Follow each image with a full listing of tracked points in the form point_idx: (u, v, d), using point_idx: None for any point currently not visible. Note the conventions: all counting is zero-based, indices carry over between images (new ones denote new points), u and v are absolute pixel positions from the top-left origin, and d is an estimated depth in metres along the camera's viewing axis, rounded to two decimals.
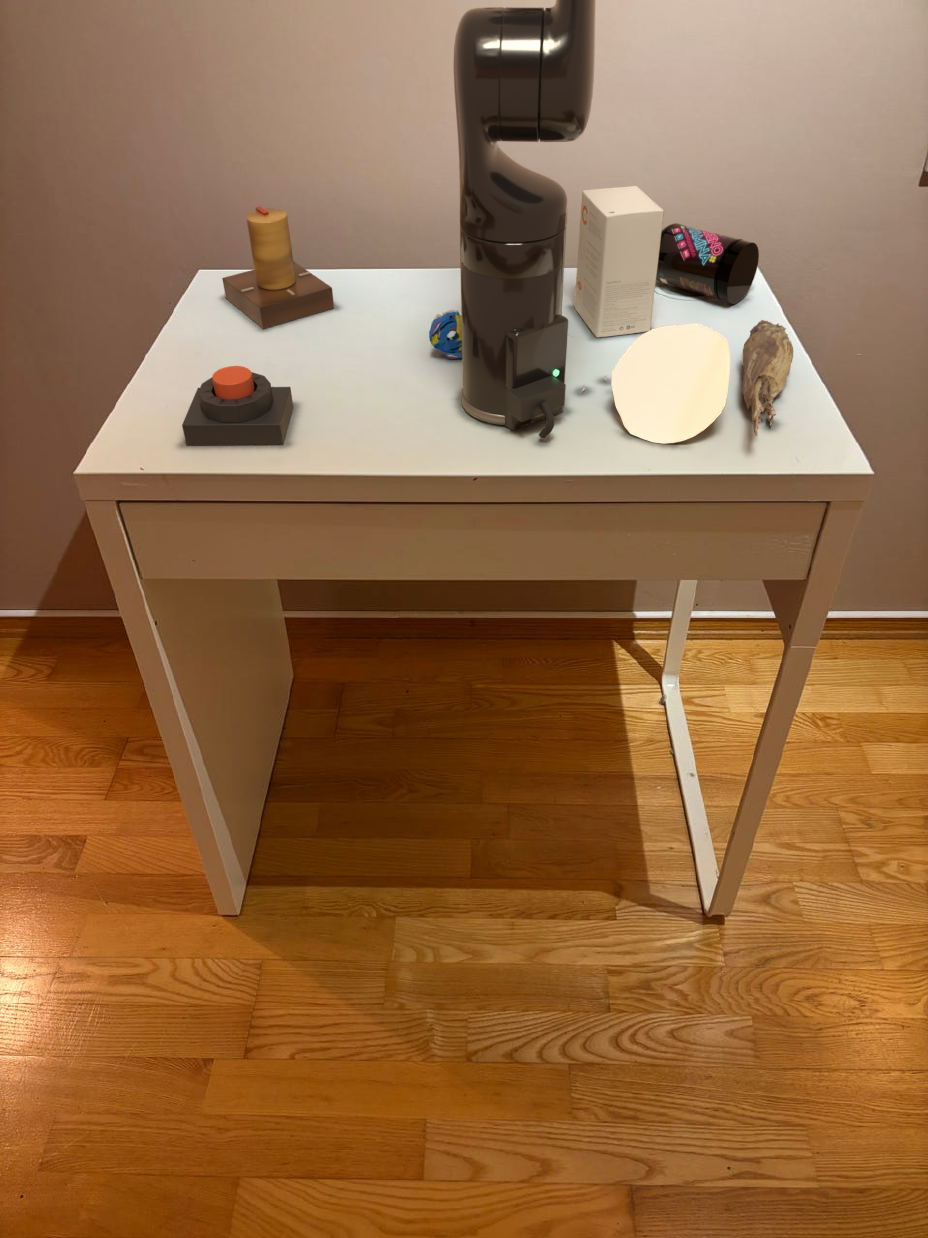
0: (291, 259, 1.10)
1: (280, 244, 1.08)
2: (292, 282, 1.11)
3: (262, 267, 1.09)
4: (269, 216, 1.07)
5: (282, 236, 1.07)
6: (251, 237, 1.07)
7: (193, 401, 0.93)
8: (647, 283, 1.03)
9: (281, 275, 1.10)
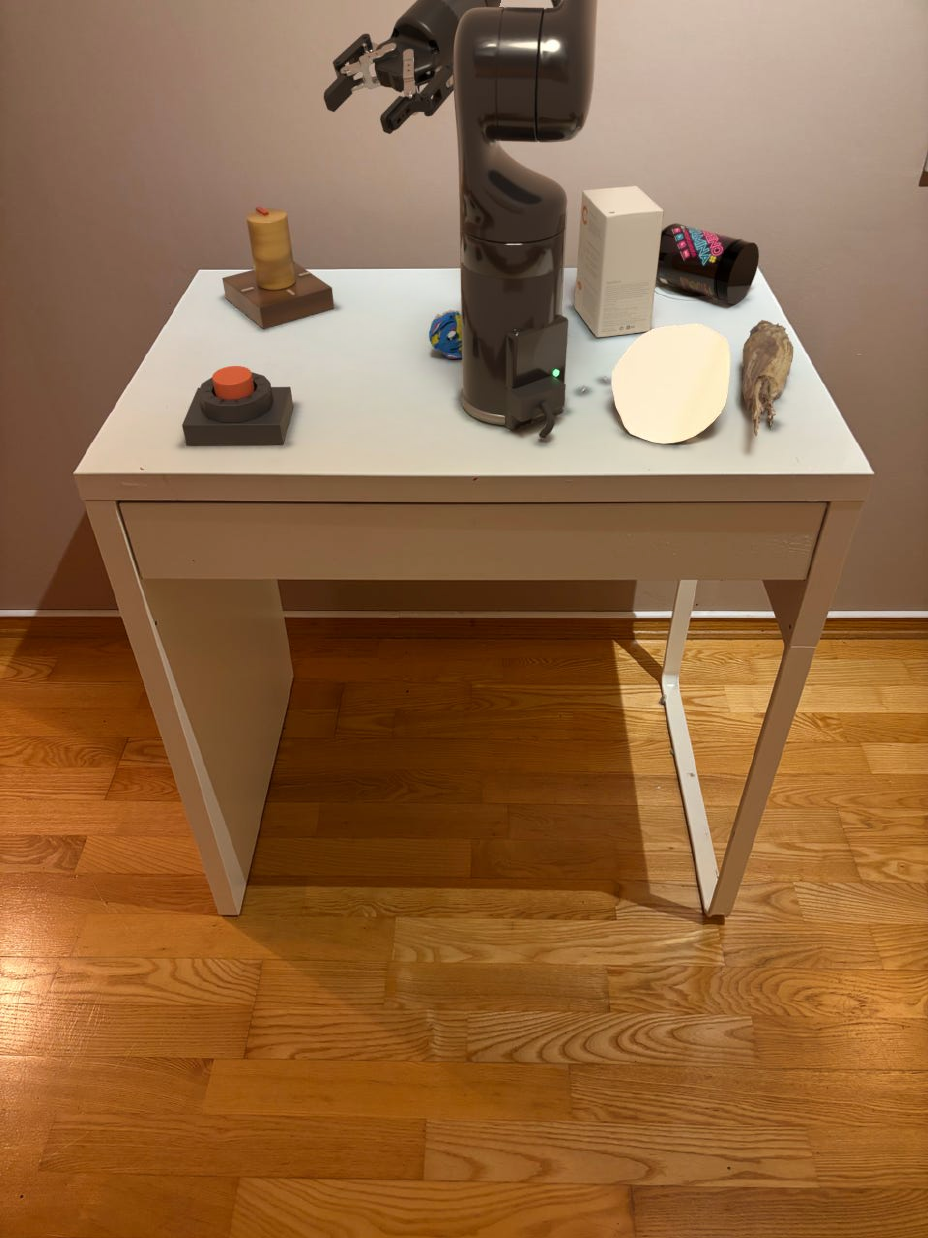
0: (291, 259, 1.10)
1: (280, 244, 1.08)
2: (292, 282, 1.11)
3: (262, 267, 1.09)
4: (269, 216, 1.07)
5: (282, 236, 1.07)
6: (251, 237, 1.07)
7: (193, 401, 0.93)
8: (647, 283, 1.03)
9: (281, 275, 1.10)
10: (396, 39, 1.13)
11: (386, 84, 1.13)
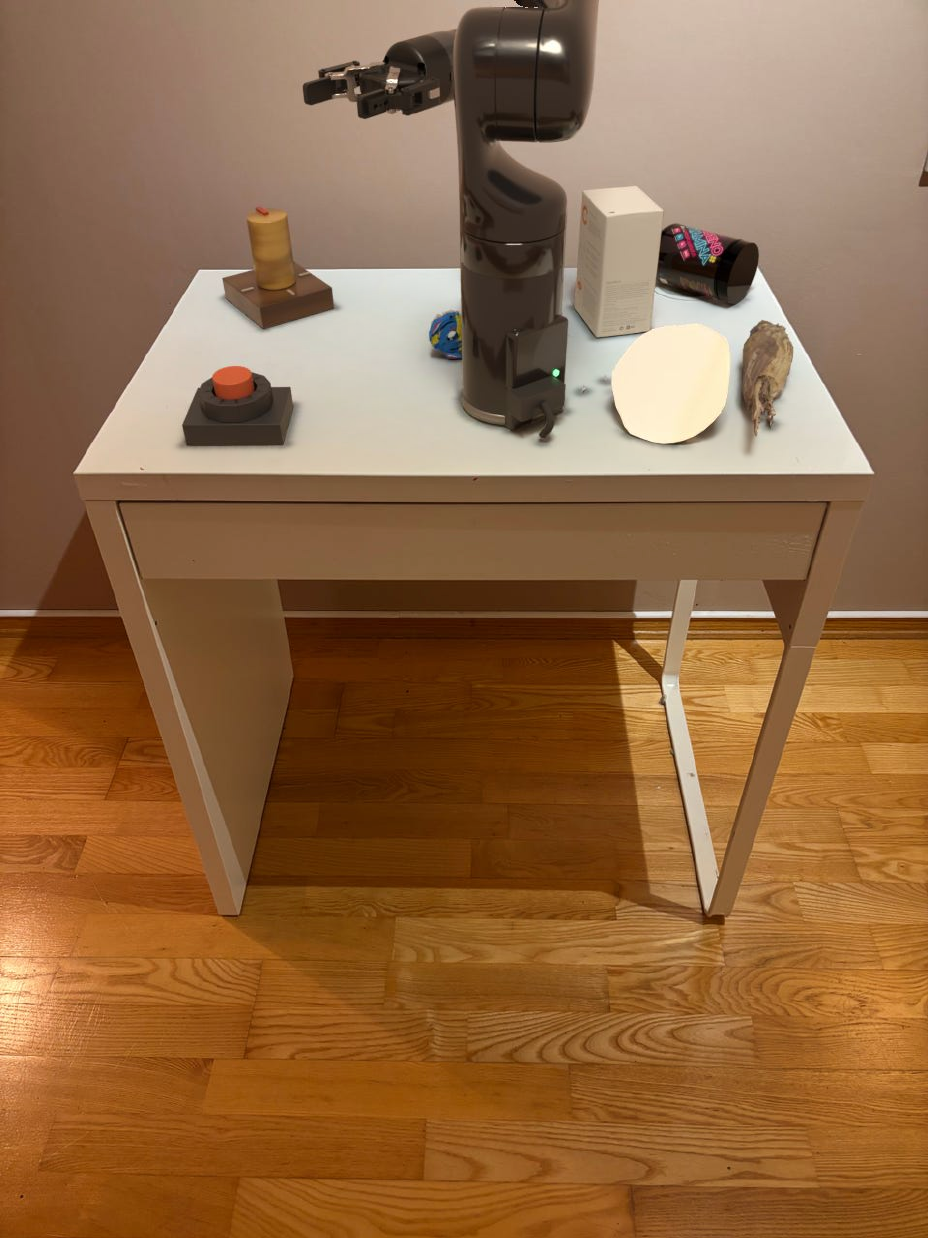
0: (291, 259, 1.10)
1: (280, 244, 1.08)
2: (292, 282, 1.11)
3: (262, 267, 1.09)
4: (269, 216, 1.07)
5: (282, 236, 1.07)
6: (251, 237, 1.07)
7: (193, 401, 0.93)
8: (647, 283, 1.03)
9: (281, 275, 1.10)
10: (385, 66, 1.14)
11: None
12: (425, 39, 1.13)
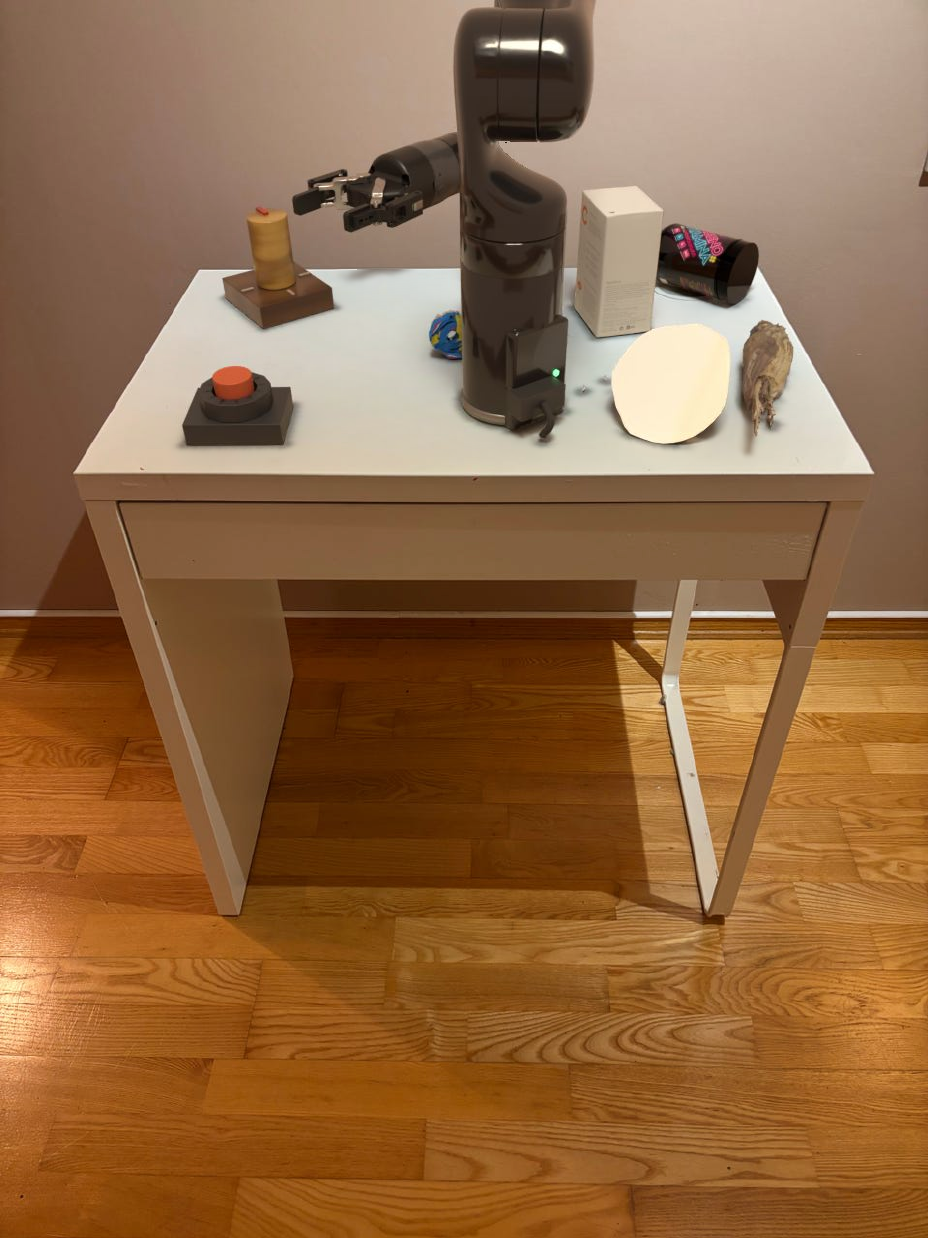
0: (291, 259, 1.10)
1: (280, 244, 1.08)
2: (292, 282, 1.11)
3: (262, 267, 1.09)
4: (269, 216, 1.07)
5: (282, 236, 1.07)
6: (251, 237, 1.07)
7: (193, 401, 0.93)
8: (647, 283, 1.03)
9: (281, 275, 1.10)
10: (371, 175, 1.19)
11: (355, 204, 1.17)
12: (409, 151, 1.18)
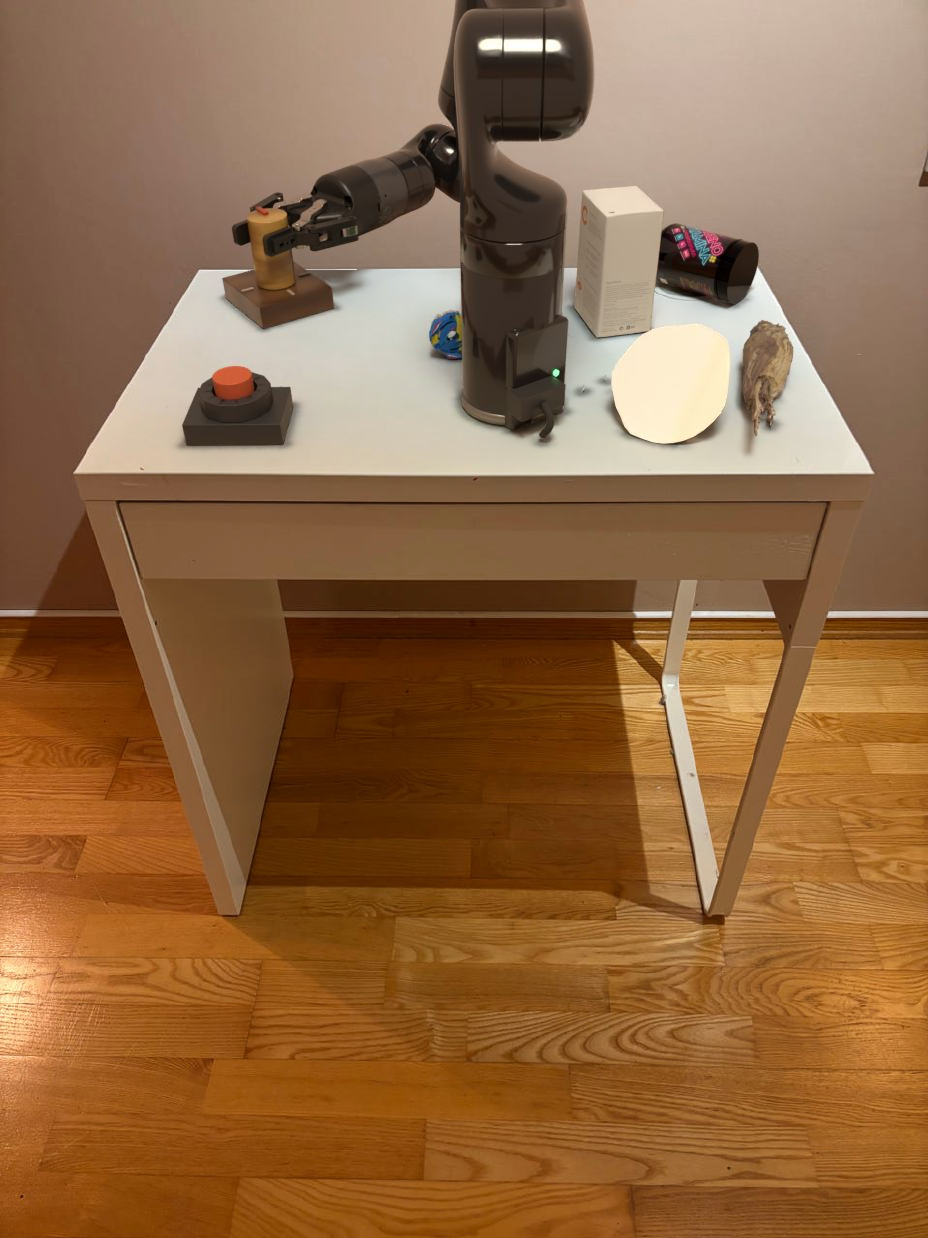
0: (291, 259, 1.10)
1: None
2: (292, 282, 1.11)
3: (262, 267, 1.09)
4: (269, 216, 1.07)
5: None
6: (251, 237, 1.08)
7: (193, 401, 0.93)
8: (647, 283, 1.03)
9: (281, 276, 1.10)
10: (313, 196, 1.14)
11: None
12: (353, 171, 1.13)
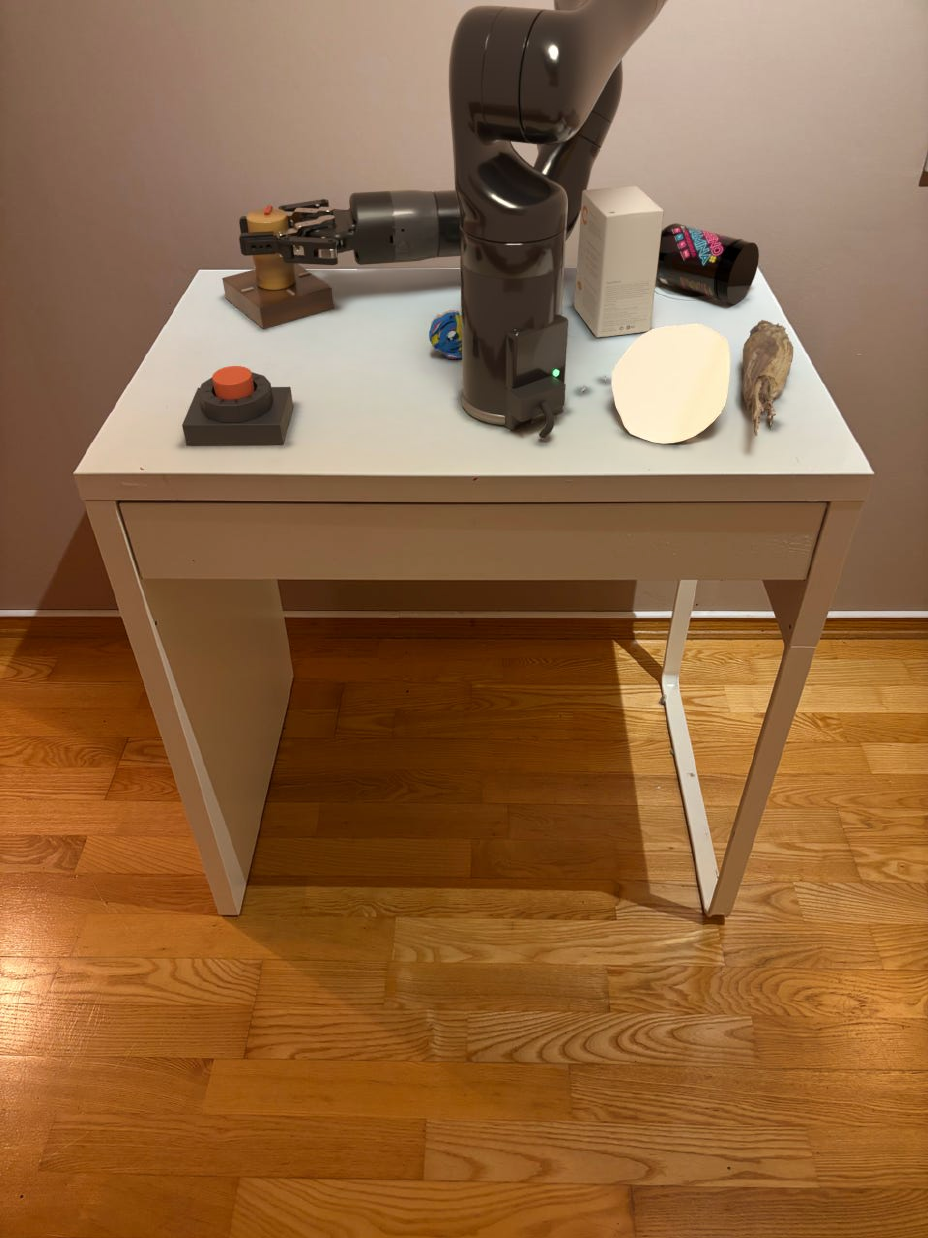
0: (283, 263, 1.09)
1: None
2: (283, 286, 1.11)
3: (254, 264, 1.10)
4: (266, 216, 1.07)
5: None
6: None
7: (193, 401, 0.93)
8: (647, 283, 1.03)
9: (268, 276, 1.10)
10: (345, 211, 1.11)
11: None
12: (379, 196, 1.07)
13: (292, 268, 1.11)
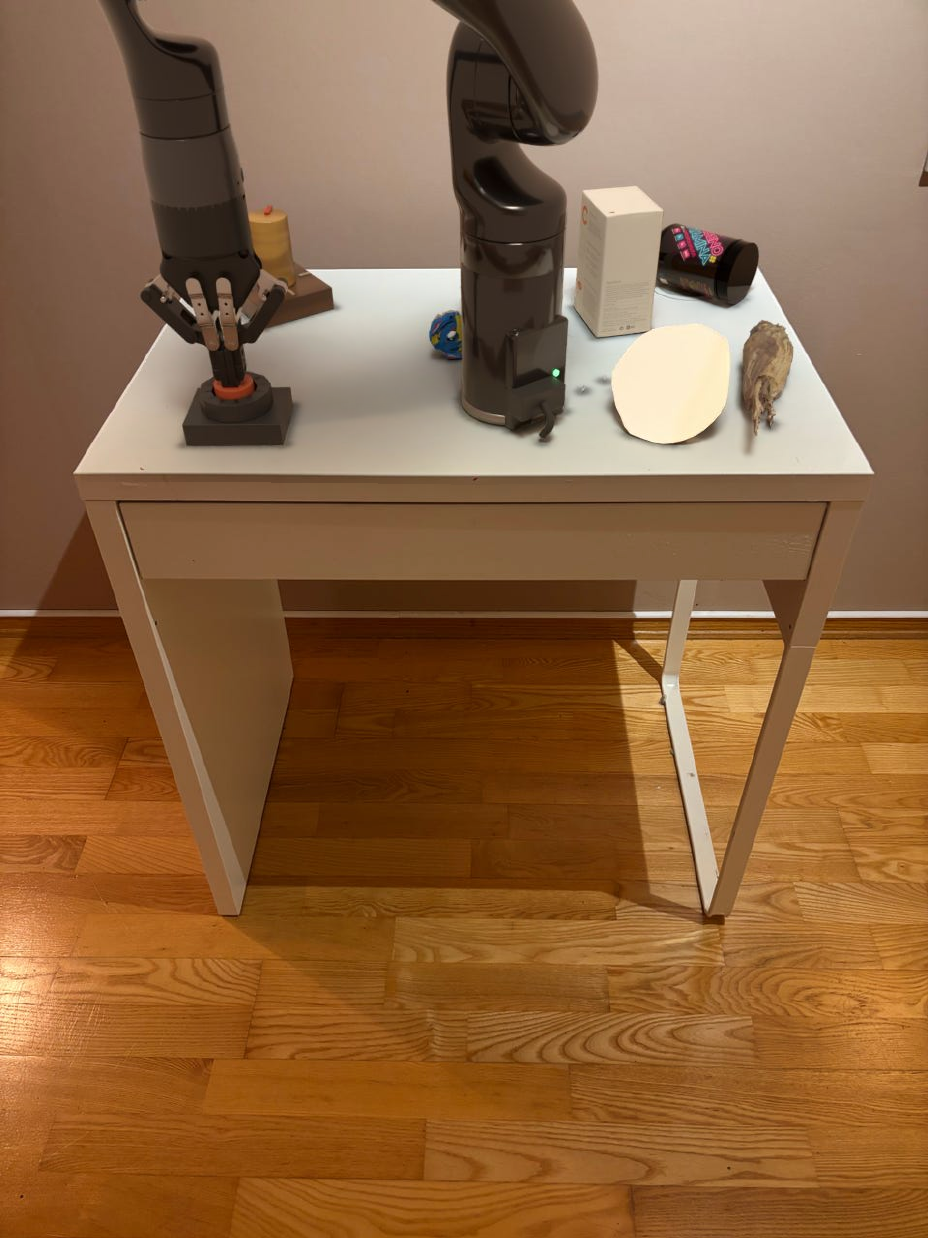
0: (283, 263, 1.09)
1: (267, 246, 1.07)
2: None
3: None
4: (266, 216, 1.07)
5: (271, 239, 1.07)
6: None
7: (193, 401, 0.93)
8: (647, 283, 1.03)
9: None
10: None
11: None
12: (200, 223, 0.77)
13: (292, 268, 1.11)
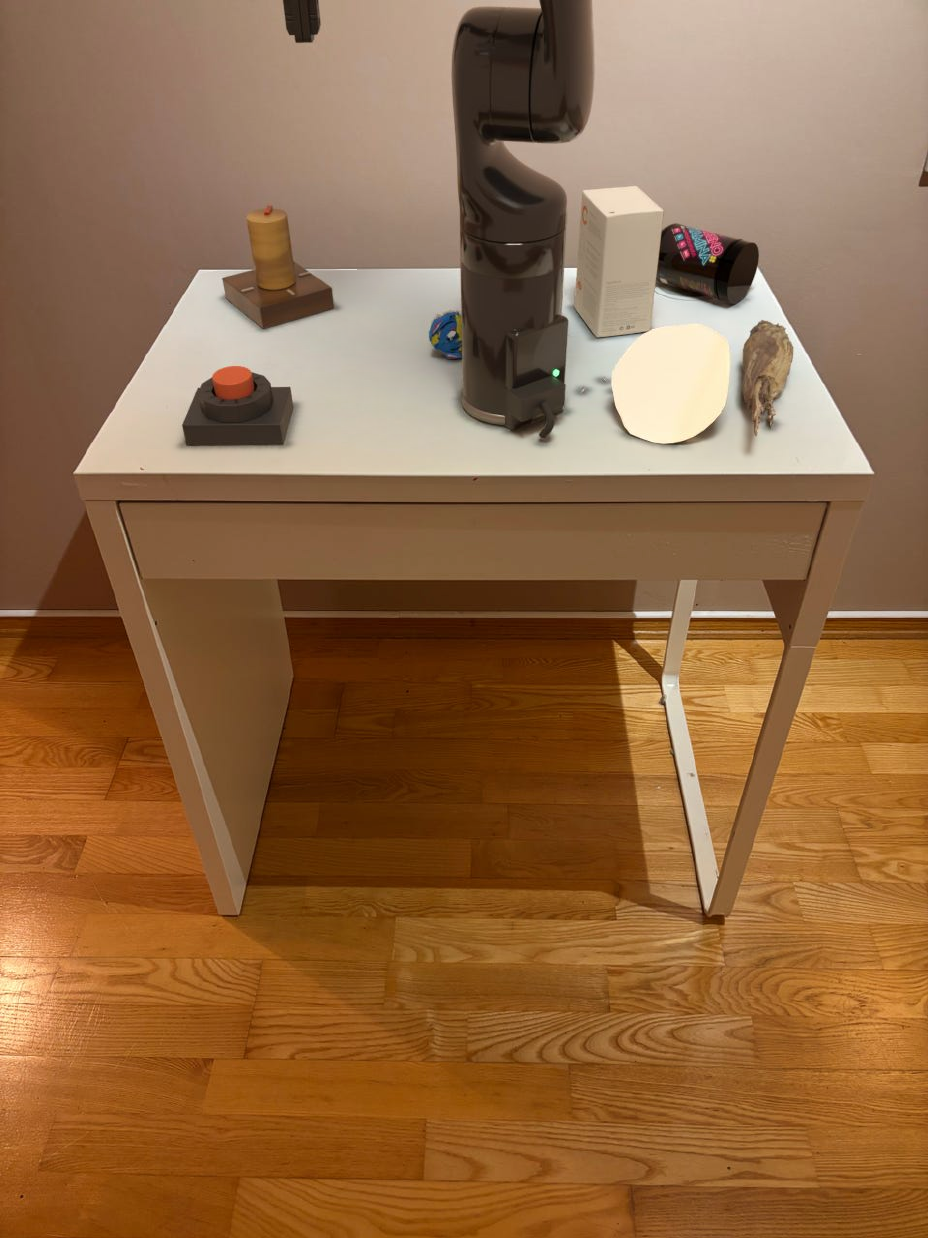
0: (283, 263, 1.09)
1: (267, 246, 1.07)
2: (283, 286, 1.11)
3: (254, 264, 1.10)
4: (266, 216, 1.07)
5: (271, 239, 1.07)
6: None
7: (193, 401, 0.93)
8: (647, 283, 1.03)
9: (268, 276, 1.10)
10: None
11: None
12: None
13: (292, 268, 1.11)
